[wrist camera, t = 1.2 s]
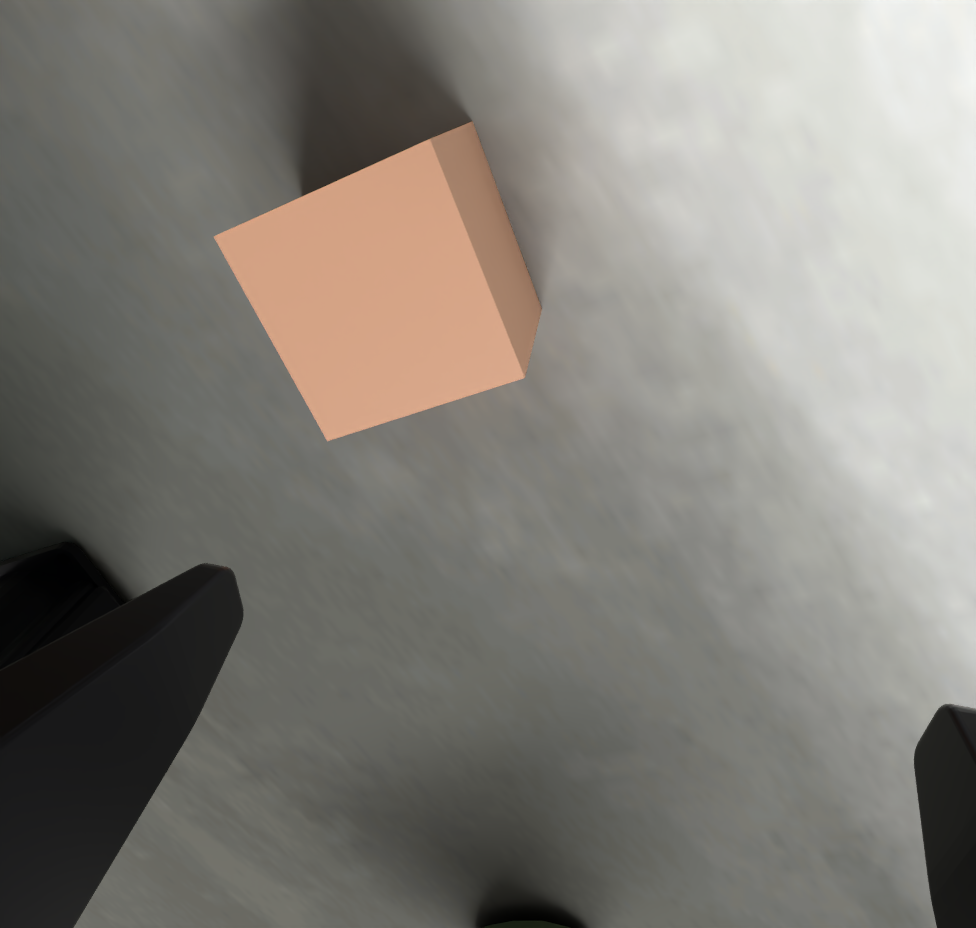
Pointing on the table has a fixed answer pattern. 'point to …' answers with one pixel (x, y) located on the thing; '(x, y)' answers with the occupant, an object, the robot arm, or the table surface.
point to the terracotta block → (392, 286)
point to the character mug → (526, 925)
